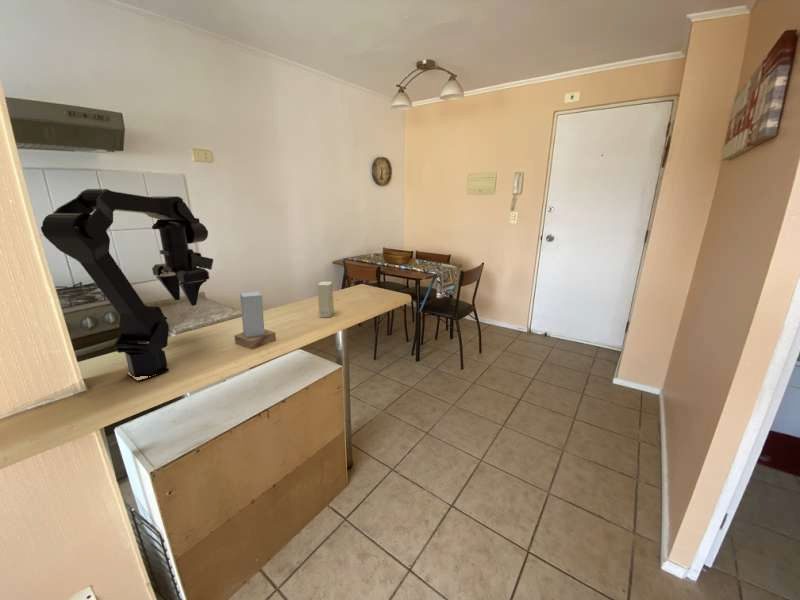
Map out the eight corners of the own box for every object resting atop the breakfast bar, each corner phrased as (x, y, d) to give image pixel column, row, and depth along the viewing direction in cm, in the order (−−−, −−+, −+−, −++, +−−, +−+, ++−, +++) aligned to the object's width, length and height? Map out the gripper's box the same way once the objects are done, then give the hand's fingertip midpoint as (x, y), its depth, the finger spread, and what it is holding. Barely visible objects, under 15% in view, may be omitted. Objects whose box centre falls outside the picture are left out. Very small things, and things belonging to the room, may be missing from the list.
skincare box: (331, 317, 120) (329, 285, 117) (318, 317, 120) (316, 285, 117) (334, 312, 126) (332, 281, 123) (322, 312, 126) (320, 281, 123)
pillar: (246, 337, 95) (242, 296, 92) (243, 332, 99) (239, 293, 96) (264, 334, 97) (261, 295, 94) (261, 329, 101) (258, 291, 98)
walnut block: (252, 350, 94) (251, 341, 93) (235, 344, 98) (234, 335, 97) (276, 341, 100) (275, 332, 99) (259, 336, 104) (258, 327, 103)
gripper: (224, 245, 89) (232, 301, 93) (189, 241, 99) (198, 291, 103) (179, 249, 80) (190, 311, 85) (146, 244, 90) (157, 300, 94)
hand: (185, 302), depth 92 cm, fingers open, 9 cm apart
